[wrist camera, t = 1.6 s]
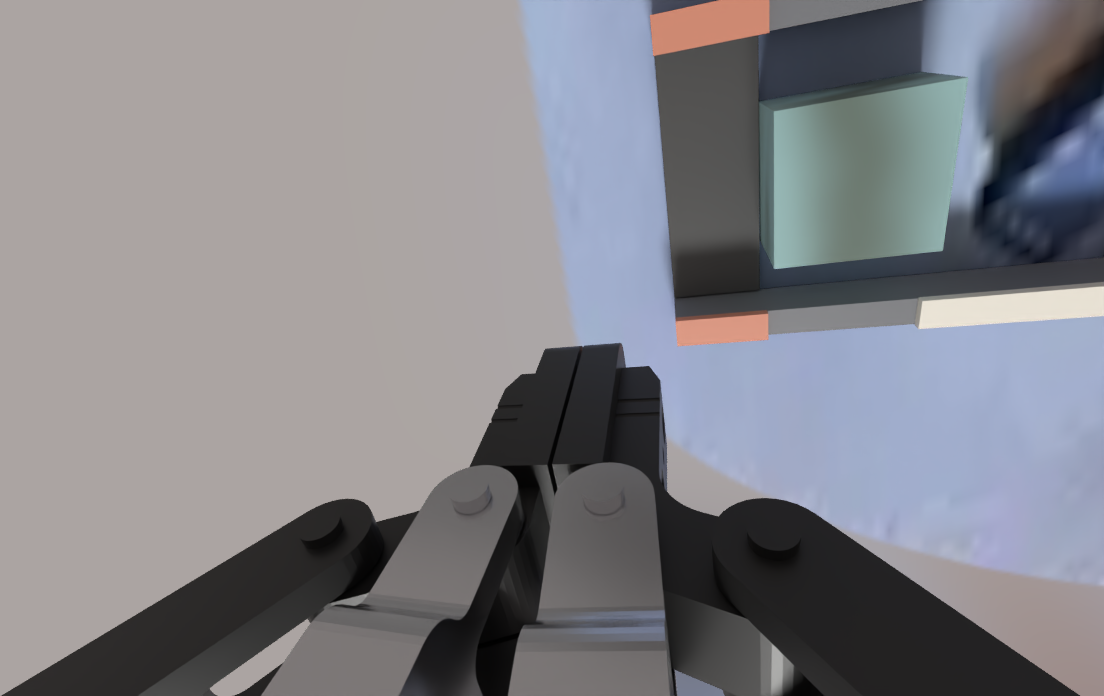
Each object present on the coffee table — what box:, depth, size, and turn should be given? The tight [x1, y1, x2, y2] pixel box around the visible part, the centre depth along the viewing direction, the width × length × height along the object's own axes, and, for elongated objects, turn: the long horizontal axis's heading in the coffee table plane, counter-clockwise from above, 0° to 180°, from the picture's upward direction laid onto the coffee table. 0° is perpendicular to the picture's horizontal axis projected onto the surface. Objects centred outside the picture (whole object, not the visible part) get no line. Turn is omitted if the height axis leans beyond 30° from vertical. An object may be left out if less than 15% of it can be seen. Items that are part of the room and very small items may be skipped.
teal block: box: [759, 72, 968, 269], centre depth 22 cm, size 6×6×4 cm
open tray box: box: [650, 0, 1104, 346], centre depth 21 cm, size 25×14×3 cm, turn 101°
